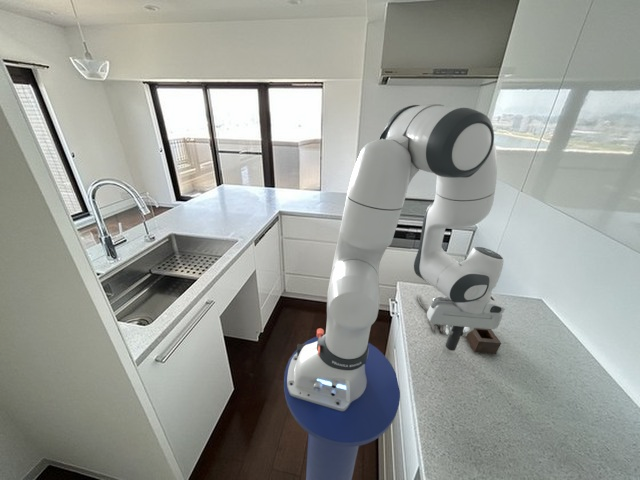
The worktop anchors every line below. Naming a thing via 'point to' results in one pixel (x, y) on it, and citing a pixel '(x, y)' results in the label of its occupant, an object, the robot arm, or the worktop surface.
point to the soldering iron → (454, 337)
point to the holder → (483, 341)
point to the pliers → (430, 322)
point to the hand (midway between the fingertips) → (455, 334)
